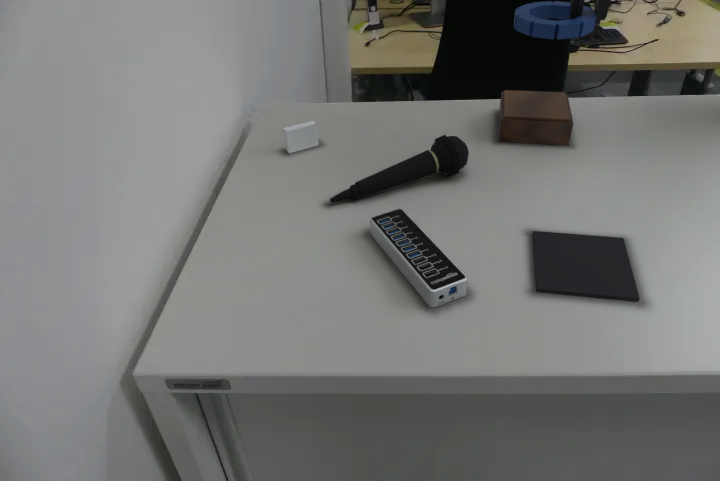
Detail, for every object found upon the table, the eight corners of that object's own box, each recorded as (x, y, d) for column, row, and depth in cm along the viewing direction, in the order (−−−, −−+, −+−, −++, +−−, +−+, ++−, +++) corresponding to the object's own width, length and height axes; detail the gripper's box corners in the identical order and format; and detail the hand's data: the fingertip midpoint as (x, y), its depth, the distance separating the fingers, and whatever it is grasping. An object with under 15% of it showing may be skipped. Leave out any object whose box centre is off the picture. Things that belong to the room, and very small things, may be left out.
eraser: (319, 145, 85) (316, 123, 83) (289, 153, 84) (285, 131, 82) (315, 142, 86) (313, 120, 84) (286, 150, 85) (283, 128, 82)
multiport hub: (401, 222, 69) (401, 206, 67) (467, 294, 58) (469, 278, 57) (369, 232, 68) (368, 217, 66) (431, 308, 57) (431, 292, 56)
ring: (588, 14, 77) (591, 1, 76) (597, 40, 69) (600, 25, 68) (513, 13, 79) (515, 0, 78) (514, 38, 71) (515, 24, 70)
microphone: (340, 229, 73) (473, 176, 77) (337, 203, 68) (479, 148, 72) (324, 199, 76) (453, 149, 80) (320, 172, 71) (457, 120, 75)
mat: (622, 240, 64) (623, 237, 64) (638, 301, 57) (639, 298, 56) (532, 233, 66) (532, 230, 66) (536, 291, 58) (536, 288, 58)
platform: (563, 114, 89) (567, 91, 87) (568, 145, 82) (574, 120, 79) (499, 112, 91) (501, 88, 89) (498, 141, 84) (501, 117, 81)
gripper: (676, -142, 64) (637, 14, 75) (550, -138, 67) (530, 13, 77) (692, -135, 58) (647, 33, 69) (554, -131, 61) (532, 31, 72)
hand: (585, 22), depth 73 cm, fingers closed on ring, 2 cm apart
